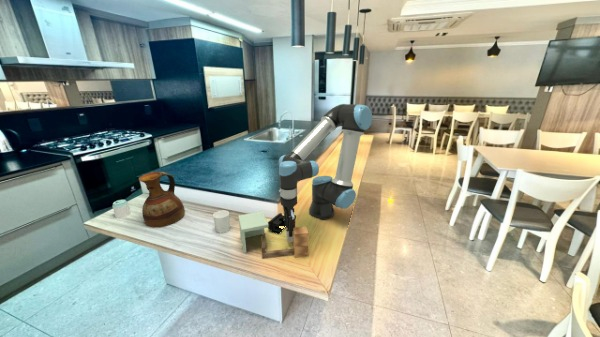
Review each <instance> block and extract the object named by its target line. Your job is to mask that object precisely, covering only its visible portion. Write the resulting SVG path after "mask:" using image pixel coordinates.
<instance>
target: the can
mask: <svg viewBox="0 0 600 337" xmlns="http://www.w3.org/2000/svg"><path fill="white" fill-rule="evenodd" d="M112 209H113V213H114V217H115V218H116V219H124V218H127V217H129V216H130V215H131V214H132V212H131V210H130V209H131V208H130V205H129V202H128V201H127V200H126V199H118V200H116V201H114V202H113V203H112Z"/></svg>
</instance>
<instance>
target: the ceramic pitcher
mask: <svg viewBox="0 0 600 337" xmlns="http://www.w3.org/2000/svg"><path fill="white" fill-rule="evenodd" d="M165 176H166V177H167V178H168V180H169V181H168V182H169V184H168V185H169V186H168V189H167V190H164V189H163V187H162V186H161V183H160V182H161V181H160V180H161V178H162V177H165ZM138 181H139V182H141V183H144V184H145V185H146V186H145V187H146V190H148V196H147V197H146V199H145V201H144V203H143V205H142V209H141V211H142V218H143V220H144V223H145V224H146V225H147V226H148V227H151V228H163V227H167V226H168V227H169V226H171V225H174V224H175V223H177V222H179V221H180V220H181V219H182V218H183V217H184V215H185V212H186V210H185V205H184V203H183V201H182V200H181V199H180V198H179V197H178V196H177V195H176V194H175V189H176V188H175V187H176V180H175V178H174V176H173V175H172V174H170V173H169V172H165V171H152V172H149V173H145V174H142V175H141V176H139V177H138Z"/></svg>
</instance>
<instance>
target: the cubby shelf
mask: <svg viewBox="0 0 600 337" xmlns="http://www.w3.org/2000/svg"><path fill="white" fill-rule="evenodd" d="M268 222H269V221H267V218H266V215H265V214H264V211H262V210H261V211H258V212H251V213H246V214H241V215H240V214H239V215H238V224H239V225H238V226H239V233H240V240H241V247H242V252H243V254H247V245H246V239H247V238H251V237H255V236H256V235H257V236H261V235H260V234H262V235H263V234H265V235H266V233H265V229H268V227H269V226H268Z"/></svg>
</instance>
